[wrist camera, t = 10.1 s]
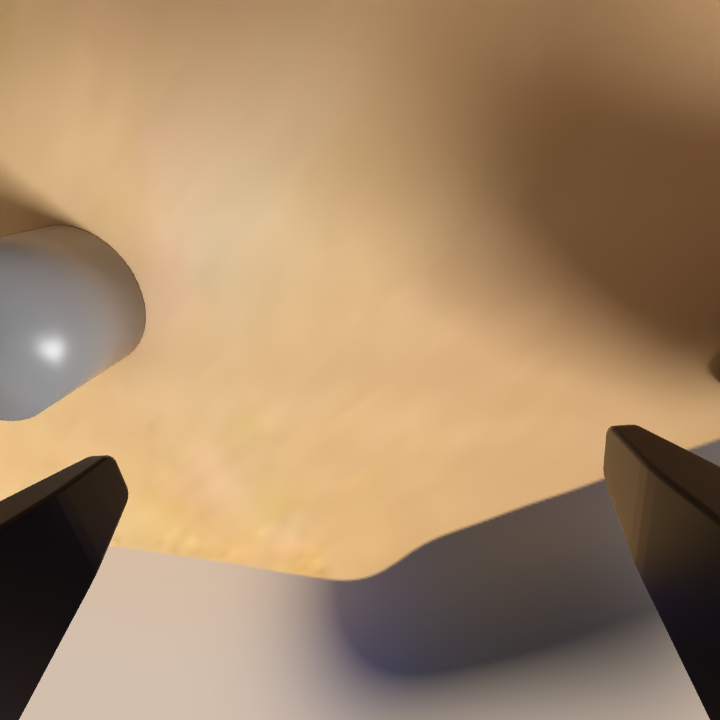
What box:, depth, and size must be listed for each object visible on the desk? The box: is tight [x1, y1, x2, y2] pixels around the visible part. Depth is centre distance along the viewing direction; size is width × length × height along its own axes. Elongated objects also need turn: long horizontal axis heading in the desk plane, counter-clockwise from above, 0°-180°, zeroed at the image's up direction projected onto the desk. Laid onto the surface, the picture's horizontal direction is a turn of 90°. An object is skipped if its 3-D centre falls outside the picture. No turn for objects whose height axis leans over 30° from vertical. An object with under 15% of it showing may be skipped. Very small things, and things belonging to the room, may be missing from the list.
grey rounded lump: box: [0, 225, 146, 421], centre depth 21 cm, size 7×7×6 cm
